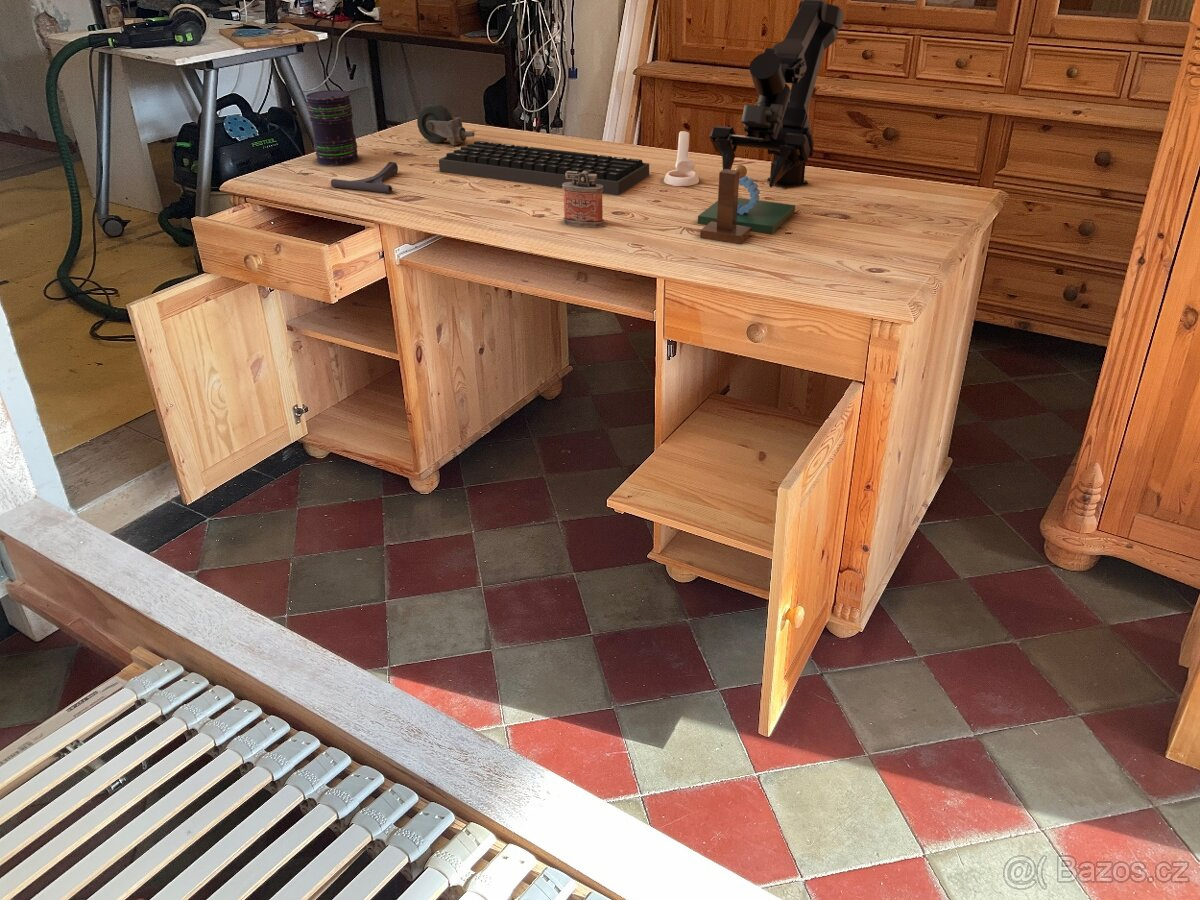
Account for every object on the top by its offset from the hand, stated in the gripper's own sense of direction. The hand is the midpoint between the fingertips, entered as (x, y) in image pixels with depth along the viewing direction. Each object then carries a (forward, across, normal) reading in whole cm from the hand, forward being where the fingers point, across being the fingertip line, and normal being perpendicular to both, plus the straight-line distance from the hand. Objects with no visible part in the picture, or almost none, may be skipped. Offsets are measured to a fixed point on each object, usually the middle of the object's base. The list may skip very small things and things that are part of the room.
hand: (747, 183), depth 185 cm
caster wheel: (-13, -87, +24) cm, 91 cm away
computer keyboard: (-3, -52, +14) cm, 54 cm away
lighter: (+16, -28, -6) cm, 32 cm away
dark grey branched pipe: (+11, -82, -1) cm, 83 cm away
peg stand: (+11, 0, -1) cm, 11 cm away
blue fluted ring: (+5, 0, +3) cm, 6 cm away
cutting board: (+4, 0, +6) cm, 7 cm away
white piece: (-8, -21, +19) cm, 29 cm away
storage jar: (+4, -102, +6) cm, 102 cm away
